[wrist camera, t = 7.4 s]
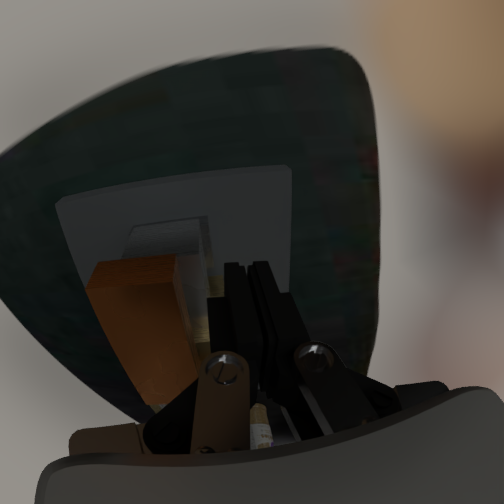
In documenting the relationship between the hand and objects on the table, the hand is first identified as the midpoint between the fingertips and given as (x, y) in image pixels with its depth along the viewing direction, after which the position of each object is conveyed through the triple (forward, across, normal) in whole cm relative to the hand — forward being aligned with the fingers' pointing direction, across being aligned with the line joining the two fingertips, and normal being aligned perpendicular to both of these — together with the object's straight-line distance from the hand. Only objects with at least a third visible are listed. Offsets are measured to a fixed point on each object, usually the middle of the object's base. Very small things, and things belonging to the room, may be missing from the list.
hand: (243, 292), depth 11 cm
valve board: (+10, +3, +10) cm, 14 cm away
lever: (-1, +3, +4) cm, 6 cm away
